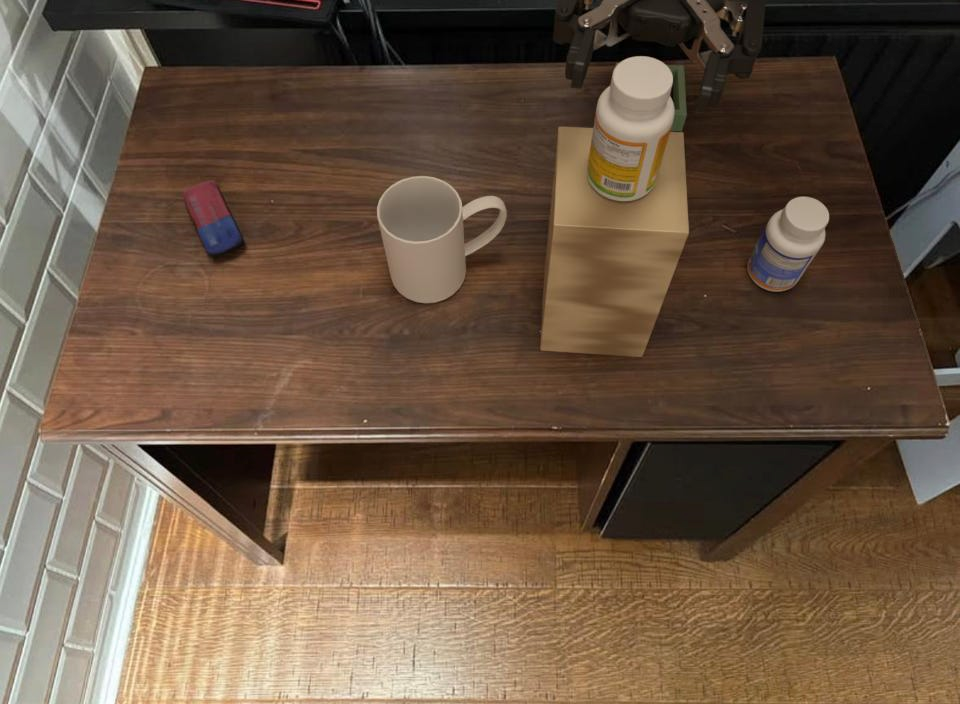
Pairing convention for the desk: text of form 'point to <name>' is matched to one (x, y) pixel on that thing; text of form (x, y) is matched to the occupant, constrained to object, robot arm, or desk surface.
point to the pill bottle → (788, 244)
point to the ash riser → (609, 253)
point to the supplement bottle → (631, 129)
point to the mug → (430, 236)
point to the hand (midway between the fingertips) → (639, 91)
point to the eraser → (213, 219)
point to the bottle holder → (678, 96)
